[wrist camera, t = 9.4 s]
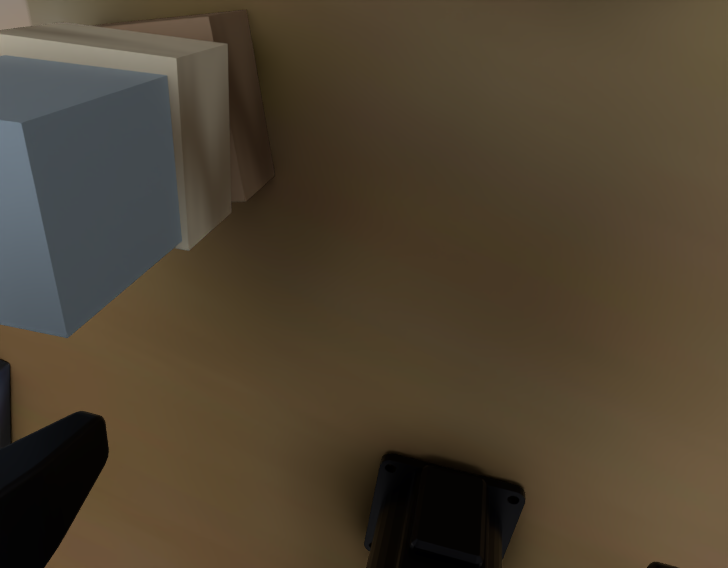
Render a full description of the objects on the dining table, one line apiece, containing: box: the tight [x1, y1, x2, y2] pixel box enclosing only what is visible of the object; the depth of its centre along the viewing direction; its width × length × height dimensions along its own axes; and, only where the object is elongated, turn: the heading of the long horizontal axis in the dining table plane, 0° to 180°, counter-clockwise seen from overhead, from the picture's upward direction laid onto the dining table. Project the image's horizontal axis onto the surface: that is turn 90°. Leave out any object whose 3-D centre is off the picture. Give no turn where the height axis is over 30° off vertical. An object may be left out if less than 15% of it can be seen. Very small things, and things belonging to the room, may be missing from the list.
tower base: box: [93, 10, 275, 202], centre depth 20 cm, size 6×6×3 cm
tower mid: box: [0, 22, 232, 251], centre depth 17 cm, size 5×5×3 cm
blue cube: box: [0, 55, 182, 338], centre depth 14 cm, size 4×4×5 cm
